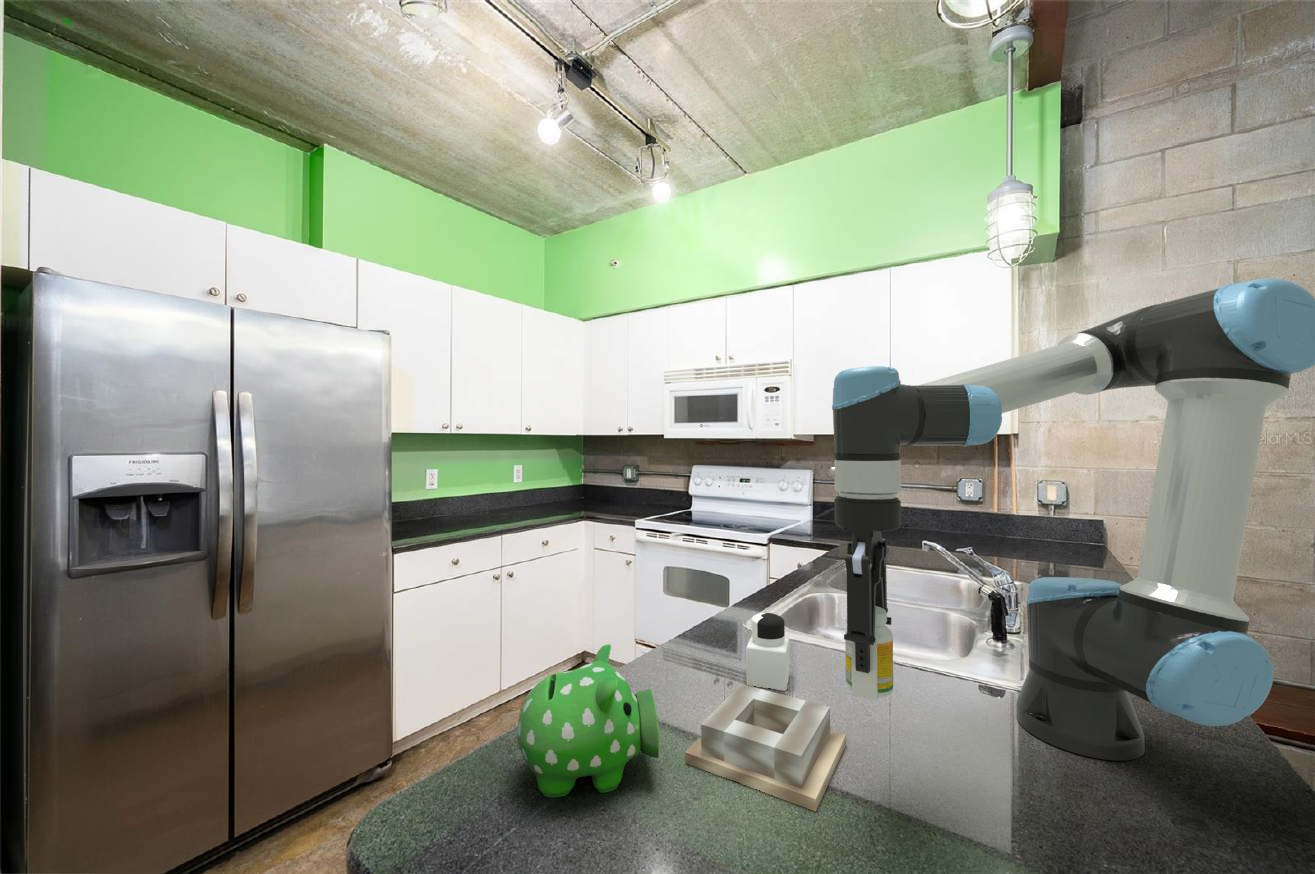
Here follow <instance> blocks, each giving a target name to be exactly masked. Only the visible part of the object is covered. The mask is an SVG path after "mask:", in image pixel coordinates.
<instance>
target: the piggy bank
mask: <svg viewBox="0 0 1315 874" xmlns="http://www.w3.org/2000/svg"><path fill="white" fill-rule="evenodd" d="M611 649H612V644H610V643H609V644H604V645H602V646H601V647H600V648H599V649H598V651H597V653H596V655H595V657H594V660H593V662H590V663H587V664H584V665H582V666H580V667H577V668H576V669H572V670H567V671H563V672H557V673H553V674H551V675H548V676H547V677H545V678H544V679H542V680H541V681H540V682H538V683H537V684H536V685H535V686H534V687H533V688H532V689H531V690H530V692H529V693H528V694H527V696H526V698H525V700H524V702H523V704H522V706H521V709H520V713H519V717H518V720H517V721H518V722H517V740H518V741H517V742H518V747H519V749H520V753H521V755H522V757H523V760H524V761H525V763H526V765H527V767H528V768H529V770H531V771H532V772H533V773H534V774H535V776H536V781H537V788H538V789H539V791H540V793H542V795H543V796H544V797H547V798H561V797H565V796H567V795H569V794H570V792H571V791H572V789H573V788H574V786H575V784H576V780H577V779H578V778H582V777H589V776H590V777H591V779H592V784H593V787H594V788H595V789H596V790H597V792H598V793H600V794H601V793H602V794H605V793H609V792H613V791H614V790H616V789H617V788H618V786H619V784H620V783H621V782H622V779H623V773H624V768H625V766H626V764H627V763H628V762H629V761H630V760H632V759H633V758H634V757H636V756H637V755H638V754H640V753H642V754H643V755H646V756H647V757H650V758H655V759H658V758H659V756H660V733H659V732H660V730H659V720H658V719H659V718H658V711H657V706H656V701H655V697H654V694H653V691H652V689H651V688H647V689H644V690H639V691H637V692H635V693H633V691H632V690H631V687H630V685H629V682H628V681H627V680H626V679H625V677H624V676H622V674H621V673H620V672H619V671H617V670H616V669H615V668H614V667H613V666H612V665H611V664H610V663H609V659H610V655H611V651H612V650H611Z"/></svg>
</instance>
